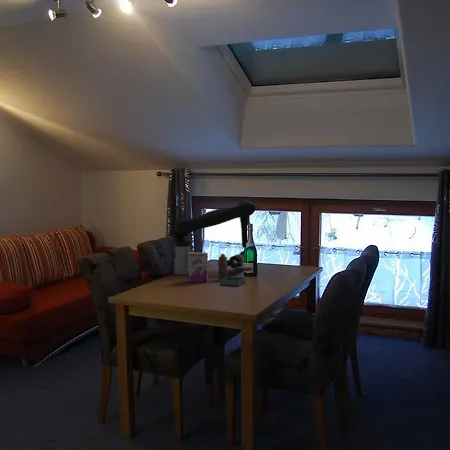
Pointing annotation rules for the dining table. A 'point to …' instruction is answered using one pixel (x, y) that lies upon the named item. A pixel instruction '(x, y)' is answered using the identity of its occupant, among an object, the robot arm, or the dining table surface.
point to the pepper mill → (222, 266)
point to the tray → (232, 281)
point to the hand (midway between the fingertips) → (225, 265)
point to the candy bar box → (197, 267)
